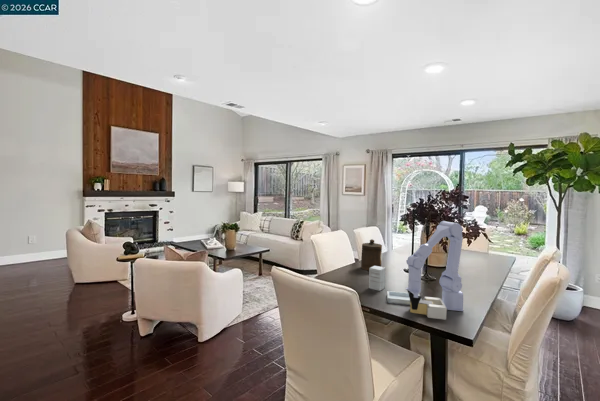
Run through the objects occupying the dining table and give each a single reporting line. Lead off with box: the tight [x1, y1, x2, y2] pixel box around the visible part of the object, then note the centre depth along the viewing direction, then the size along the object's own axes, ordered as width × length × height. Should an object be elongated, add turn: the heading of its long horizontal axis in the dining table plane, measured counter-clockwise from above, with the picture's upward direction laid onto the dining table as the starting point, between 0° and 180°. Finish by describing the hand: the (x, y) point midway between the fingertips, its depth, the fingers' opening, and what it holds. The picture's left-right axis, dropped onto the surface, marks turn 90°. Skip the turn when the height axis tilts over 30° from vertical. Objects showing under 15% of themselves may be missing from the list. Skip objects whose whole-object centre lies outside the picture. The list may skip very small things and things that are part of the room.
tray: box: [386, 290, 421, 306], centre depth 163 cm, size 17×12×2 cm
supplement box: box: [368, 266, 386, 292], centre depth 182 cm, size 7×7×13 cm
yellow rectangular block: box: [409, 299, 433, 316], centre depth 148 cm, size 10×5×5 cm, turn 70°
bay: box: [423, 296, 448, 321], centre depth 147 cm, size 8×13×6 cm, turn 166°
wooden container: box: [360, 238, 383, 271], centre depth 227 cm, size 15×15×22 cm
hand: (413, 307), depth 149 cm, fingers closed on yellow rectangular block, 5 cm apart
